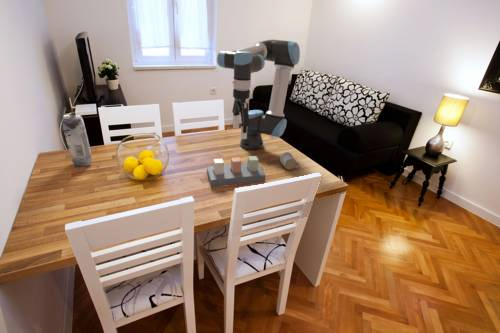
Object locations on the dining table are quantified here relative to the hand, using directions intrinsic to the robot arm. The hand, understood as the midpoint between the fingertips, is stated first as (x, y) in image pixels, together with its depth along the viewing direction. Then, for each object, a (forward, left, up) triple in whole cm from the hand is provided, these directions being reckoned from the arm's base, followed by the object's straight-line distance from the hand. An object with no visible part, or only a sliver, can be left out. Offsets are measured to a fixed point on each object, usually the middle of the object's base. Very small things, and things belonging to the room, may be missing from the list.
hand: (239, 133), depth 134 cm
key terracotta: (0, -1, -21) cm, 21 cm away
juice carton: (-29, -78, -25) cm, 87 cm away
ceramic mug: (-6, +33, -25) cm, 42 cm away
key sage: (0, +8, -21) cm, 23 cm away
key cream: (0, -10, -21) cm, 24 cm away
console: (0, -1, -25) cm, 25 cm away
